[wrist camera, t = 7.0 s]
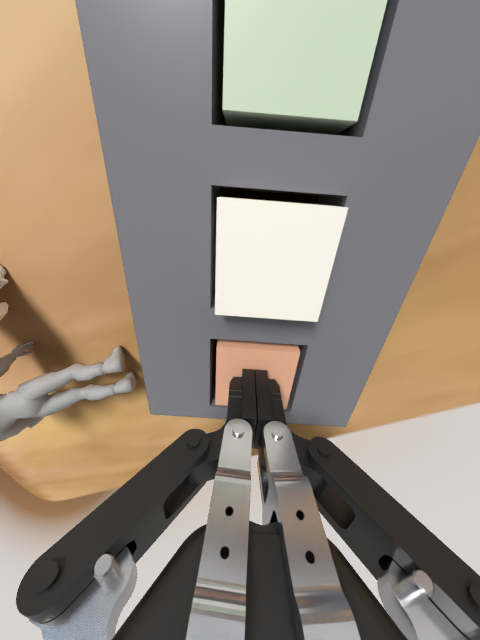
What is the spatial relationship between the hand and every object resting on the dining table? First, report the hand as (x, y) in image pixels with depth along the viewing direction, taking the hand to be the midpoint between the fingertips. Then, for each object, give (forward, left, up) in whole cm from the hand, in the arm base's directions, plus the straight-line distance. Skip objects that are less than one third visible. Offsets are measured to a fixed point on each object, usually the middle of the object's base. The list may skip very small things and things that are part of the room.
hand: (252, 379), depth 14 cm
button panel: (0, -7, -4) cm, 9 cm away
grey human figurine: (+15, +4, -5) cm, 16 cm away
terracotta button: (0, 0, -3) cm, 3 cm away
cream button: (0, -7, -2) cm, 8 cm away
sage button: (0, -15, -3) cm, 15 cm away
